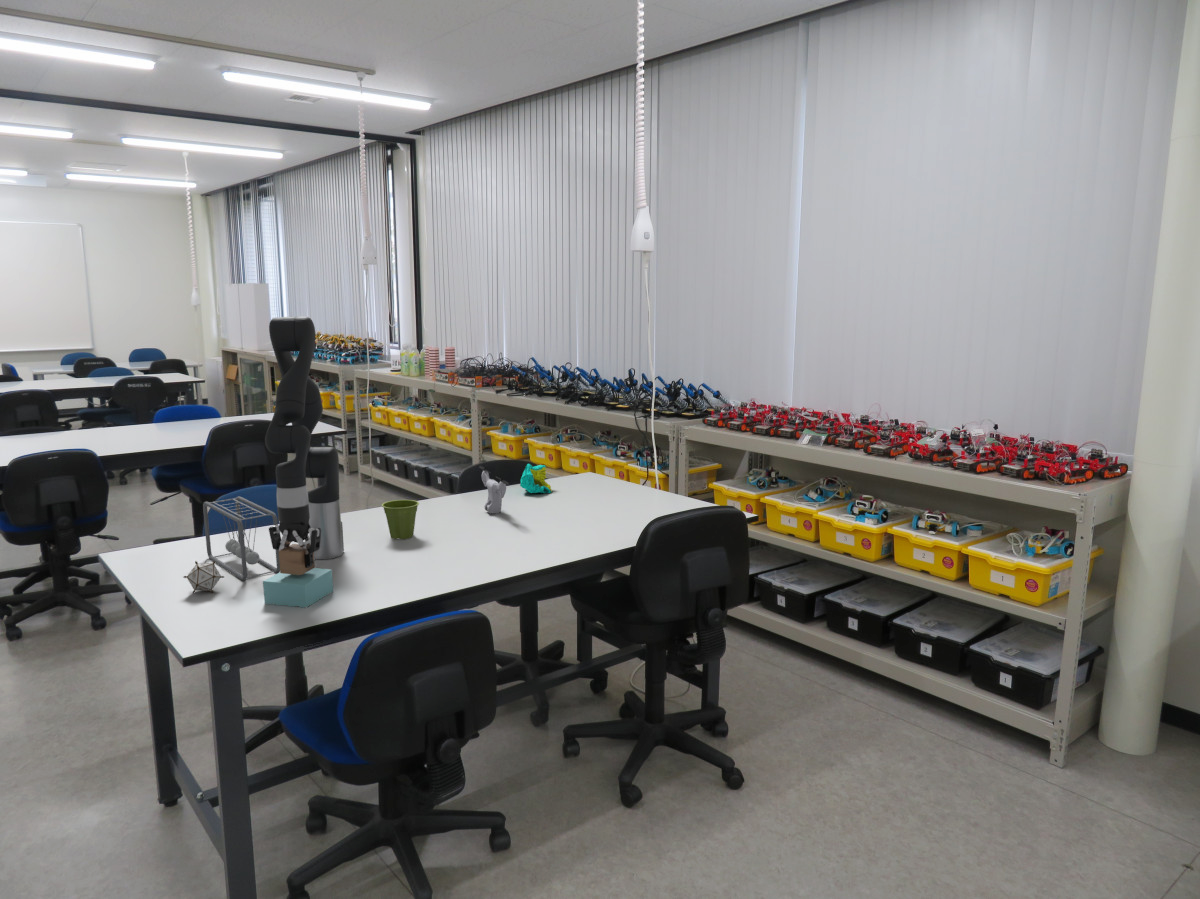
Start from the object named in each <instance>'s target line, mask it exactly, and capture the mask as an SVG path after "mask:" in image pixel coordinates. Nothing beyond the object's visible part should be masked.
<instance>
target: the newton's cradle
mask: <svg viewBox="0 0 1200 899" xmlns="http://www.w3.org/2000/svg"><path fill="white" fill-rule="evenodd" d="M228 501H234V502H235V505H234V506H231V508H232V507H235V508H233V510H231V509H228V508H229V507H225V506H227V505H228V504H227V503H226V504H224V505H222V504H218V503H223V502H228ZM234 502H232V503H230V505H232V504H234ZM244 506H245V507H244ZM208 508H210V509H211V510H214V511H215V512H217V513H219V514H220V515H222V516H223V520H224V523H225V526H226V529H227V533H228V537H229V540H228V541H227V542H226V543H225V549H226V551H227V552H228V553H224V554H223V553H222V554H219V555H215V556H214V555H213V553H212V546H211V534H210V525H209V524H210V523H209V515H208V514H209V513H208ZM242 509H246V514H243V512H244V510H242ZM249 509H250V510H251V512H250V513H249V514H250V517H248V512H249V511H250V510H249ZM202 510H203V523H204V532H205V535H204V536H205V544H206V553H207V557H208V558H209V560H211V561H212V560H213V561H215V562H216V563H215V564H217V565H218V564H219V565H218V566H220V567H221V566H222V567H221V568H223V569H224V568H225V570H226V571H227V570H228V571H227V572H229V573H230V572H231V573H230V574H232V575H234V576H235V577H237V578H238V579H239V580H240V581H243V580H245V581H246V580H247V579H250V578H255V577H259V576H263V575H268V574H271V573H276V574H278V572H279V573H280V562H279V550H277V549H275V560H276V561H275V562H276V567H275V566H273V565H272V564H271V563H269V562H267V561H266V560H264V559H262V558H261V557H260V554H259V553H258V552H257V551H254V549H255V544H253V545H252V546H253V547H252V548H250V541H249V539H250V537H251V532H249V535H248V537H247V534H246V529H245V528H246V526H247V520H250V522H252V520H253V519H256V520H255V525H257V523H258V522H257V521H258V518H261V517H267V516H271V517H272V523H273V526H274V525H278V526H279V521H278V515H277V514H276V513H275V511H272V510H270V509H267V508H265V507H264V506H261V505H259V504H257V503H254V502H253V501H250V500H248V499H247V498H244V497H242V496H240V495H239V496H237V497H234V498H228V499H223V500H222V499H221V500H217V501H216V500H215V501H210V502H209V501H204V502H203V504H202ZM234 510H235V511H234ZM253 511H254V512H253ZM253 513H254V514H256V516H253ZM258 513H259V514H261V515H259V514H258ZM244 515H245V517H244ZM225 517H227V519H228V523H229V525H230V530H231V532H232V538H231V535H230V533H229V529H228V525H227V522H226V519H225ZM230 520H232V524H233V526H234V529H232V525H231V521H230ZM243 521H245V524H243ZM236 524H237V528H236ZM251 527H252V523H250V526H249V530H251V529H252V528H251ZM234 532H235V533H236V536H237V539H238V540H236V538H235V533H234ZM256 532H257V527H255V530H254V534H256ZM245 539H246V542H247V546H246V545H245ZM255 541H256V535H254V539H253V543H255ZM230 555H234V556H236V557H237V558H239V559H241V568H242V574H241V573H239V572H238V571H236V570H235V569H233V568H232V567H230V566H229V565H227V564H225V563H224V562H223V561H222V560H220V559H218V558H219V557H224V556H230ZM213 561H212V562H213ZM259 562H260V563H259ZM257 563H259V564H261V565H262V564H263V566H264V567H266V568H267V567H268V569H270V570H271V571H267V572H263V573H258V574H254V575H249V576H248V568H247V566H248V565H256V564H257ZM247 564H248V565H247ZM272 570H273V571H272Z"/></svg>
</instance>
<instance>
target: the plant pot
mask: <svg viewBox="0 0 1200 899" xmlns="http://www.w3.org/2000/svg"><path fill="white" fill-rule="evenodd" d="M419 505H420V502H419V501H417V500H413V499H395V500H389V501H385V502H383V503H382V504H381V507H382V508H383V511H384V514H385V516H386V522H387V526H388V531H389V534H390V539H393V540H402V541H403V540H406V539H409V540H410V539H411V538H412V537H413V536H414V534H415V533H414V532H415V524H416V516H417V511H418V507H419Z"/></svg>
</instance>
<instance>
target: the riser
mask: <svg viewBox="0 0 1200 899" xmlns="http://www.w3.org/2000/svg"><path fill="white" fill-rule="evenodd" d="M333 582H334V581H333V569H329V568H316V567H315V568H313V569H311V570H310V571H308V572H306V573H304V574H302V575H294V574H283V573H280V572H279V573H276V574H273V575H272V576H270V577H267V578H266V579H264V580H262V586H263V597H264V598H263V599H264V604H265V603H266V604H265V605H274V604H276V606H284V605H288V606H287V607H294V606H299V607H298V608H304V607H307V608H309V607H310V606H312V605H313V604H315V603H316V601H317V602H318V601H320V600H322V599H323V598H324V596H325V597H326V596H328V595H330V594H331V593H333V592H334V585H333ZM329 593H330V594H329ZM322 597H323V598H322ZM319 599H320V600H319ZM311 604H312V605H311ZM309 605H310V606H309ZM308 606H309V607H308Z"/></svg>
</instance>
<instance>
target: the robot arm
mask: <svg viewBox="0 0 1200 899" xmlns="http://www.w3.org/2000/svg"><path fill="white" fill-rule="evenodd" d="M268 324H269V325H268V330H269V338H270V343H271V345H272V349H273V352H274V356H275V359H276V362H277V365H278V369H279V373H280V376H281V380H280V381H279V382H278V385H277V388H276V392H275V393H276V396H275V409H274V413H273V416H272V419H271V420H270V423H269V425H268V428H267V429H266V430H267V431H266V433H265V435H264V437H265V438H264V444H265V447H266V449H267V451H269V452H270V453H271V454H274V455H275V454H277V455H278V454H279V455H280V454H295V457H294V458H293V459H292V460H289V461H284V462H280V463H278V464H277V465H276V466H275V481H276V508H277V509H276V510H277V520H278V525H274V524H273V525H272V526H270V527H268V533H269V537H270V543H271V545H272V546H271V547H272V549H273V550H275V549H277V550H281V549H284V548H285V547H288V546H290V545H291V543H293V542H294V543H295V544H296V543H297V544H299V546H300V547H302V549H303V550H304V553H305V555H304V557H305V568H309V567H311V566H312V565H313V563H315V561H314V562H313V552H314V560H331V559H334V558H339V557H340V556H342V555H343V554H344V553H343V552H344V551H345V549H344V547H345V546H344V530H343V529H344V528H343V527H344V526H343V522H342V518H341V517H342V516H341V503H340V502H341V501H340V476H339V472H340V464H339V463H340V462H339V461H340V460H339V453H338V450H337V448H335V447H333V446H312V445H311V439H312V433H313V431H314V429H315V428H316V426H317V424H318V423H319V421H320V419H321V418H322V414H323V412H324V408H323V401H322V397H321V392H320V388H319V386H318V385H317V384H316V383H315V380H313V379H312V378H311V377H310V376H309V375H310V371H311V367H312V360H313V357H314V351H315V348H316V334H317V333H316V327H315V324H314V321H313V320H312V319H311V318H310V317H309V316H277V317H272V319H270V321H269V323H268ZM292 352H293V353H294V352H298V355H297V357H296V359H295V360H294V357H293V356H292V355H293V354H292ZM289 424H291V425H289ZM307 479H325V482H324V483H323V484H322V485H320V486H318V487H315V488H312V489H310V490H308V487H307ZM281 535H282V536H281ZM275 551H276V550H275Z"/></svg>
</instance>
